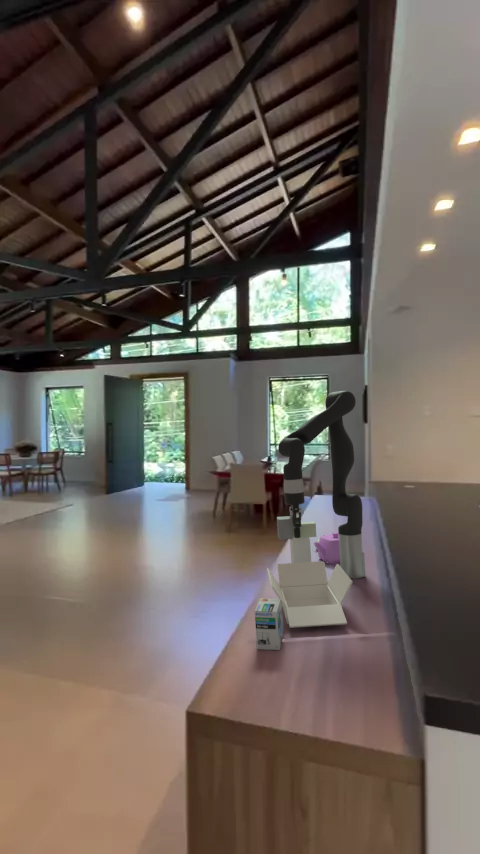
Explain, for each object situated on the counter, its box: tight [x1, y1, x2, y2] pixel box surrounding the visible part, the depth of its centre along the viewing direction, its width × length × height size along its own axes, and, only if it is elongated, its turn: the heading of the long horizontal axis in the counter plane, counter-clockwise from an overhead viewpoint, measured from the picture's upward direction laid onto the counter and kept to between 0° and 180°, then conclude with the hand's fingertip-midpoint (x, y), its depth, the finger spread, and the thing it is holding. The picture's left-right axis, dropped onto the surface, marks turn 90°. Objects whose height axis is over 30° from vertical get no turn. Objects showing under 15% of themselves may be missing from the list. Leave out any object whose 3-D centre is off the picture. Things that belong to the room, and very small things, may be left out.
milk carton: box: [289, 537, 312, 563], centre depth 195 cm, size 7×7×19 cm
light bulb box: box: [254, 597, 285, 651], centre depth 135 cm, size 11×7×11 cm, turn 168°
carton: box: [266, 560, 354, 629], centre depth 153 cm, size 25×32×12 cm
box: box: [276, 515, 317, 541], centre depth 176 cm, size 14×6×7 cm, turn 91°
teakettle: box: [313, 531, 340, 565], centre depth 215 cm, size 17×17×12 cm
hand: (296, 536), depth 176 cm, fingers closed on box, 4 cm apart
